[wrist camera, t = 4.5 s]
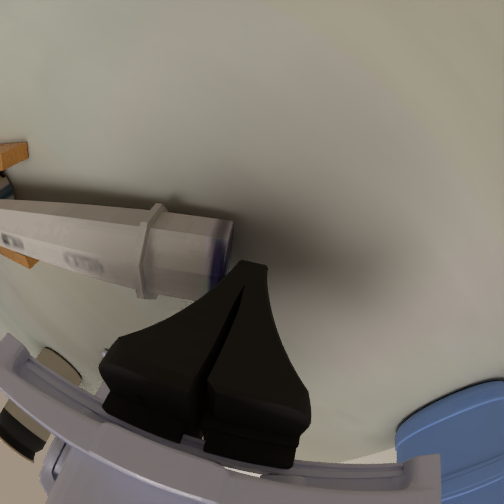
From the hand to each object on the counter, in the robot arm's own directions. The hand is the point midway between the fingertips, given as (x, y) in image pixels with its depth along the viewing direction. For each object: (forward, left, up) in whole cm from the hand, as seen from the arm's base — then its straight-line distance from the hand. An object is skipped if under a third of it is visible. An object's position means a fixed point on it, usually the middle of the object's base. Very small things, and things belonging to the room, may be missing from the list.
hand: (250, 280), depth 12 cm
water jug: (-16, -26, -3) cm, 30 cm away
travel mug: (-29, +27, -3) cm, 40 cm away
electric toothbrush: (0, +14, -3) cm, 14 cm away
